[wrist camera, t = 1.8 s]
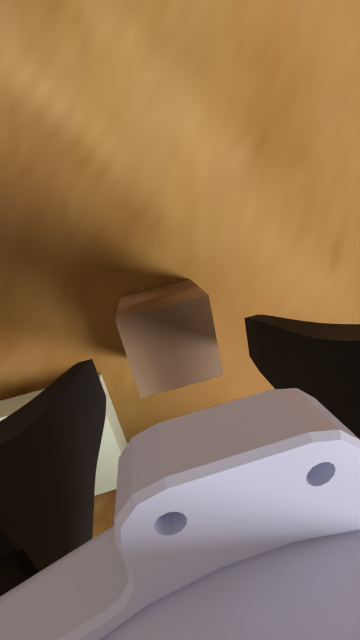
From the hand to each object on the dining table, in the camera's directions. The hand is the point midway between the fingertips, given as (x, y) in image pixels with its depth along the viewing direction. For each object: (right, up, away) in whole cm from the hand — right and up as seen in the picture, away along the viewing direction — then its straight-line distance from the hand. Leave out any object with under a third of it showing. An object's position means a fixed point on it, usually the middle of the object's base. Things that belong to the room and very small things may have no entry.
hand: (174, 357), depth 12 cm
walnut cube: (-1, +2, +5) cm, 6 cm away
